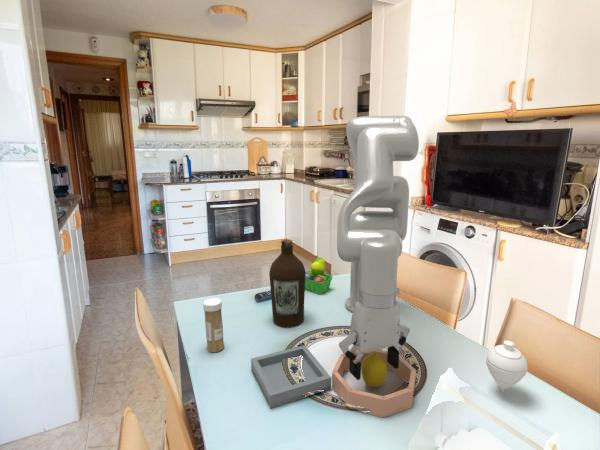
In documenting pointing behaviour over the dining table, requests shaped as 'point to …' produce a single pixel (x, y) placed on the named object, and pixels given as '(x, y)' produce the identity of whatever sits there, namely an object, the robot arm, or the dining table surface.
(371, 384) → the lemon
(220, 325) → the sprinkles bottle
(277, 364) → the grey tray
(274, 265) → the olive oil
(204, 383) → the dining table surface
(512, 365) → the spinning top
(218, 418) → the dining table surface
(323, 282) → the fruit basket
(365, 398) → the terracotta ring
